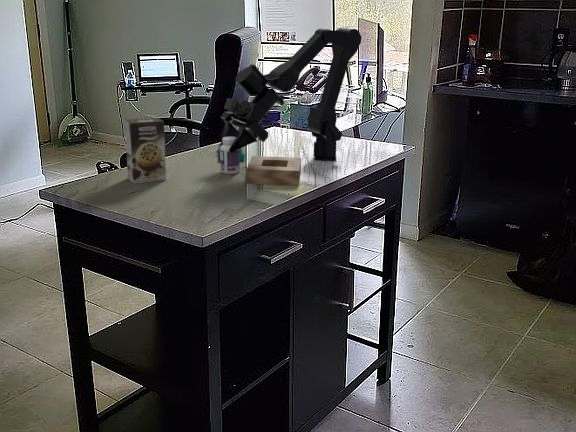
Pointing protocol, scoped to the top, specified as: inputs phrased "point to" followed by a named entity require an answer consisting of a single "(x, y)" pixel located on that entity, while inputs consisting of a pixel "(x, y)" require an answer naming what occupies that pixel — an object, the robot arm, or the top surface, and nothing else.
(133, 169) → the cookie box
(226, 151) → the pill bottle
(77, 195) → the top surface
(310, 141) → the top surface
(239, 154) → the digital multimeter
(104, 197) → the top surface
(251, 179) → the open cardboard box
